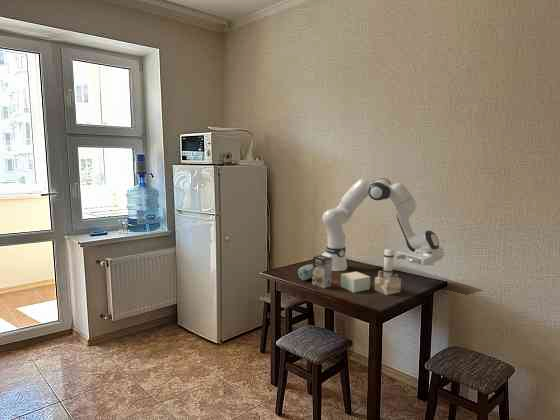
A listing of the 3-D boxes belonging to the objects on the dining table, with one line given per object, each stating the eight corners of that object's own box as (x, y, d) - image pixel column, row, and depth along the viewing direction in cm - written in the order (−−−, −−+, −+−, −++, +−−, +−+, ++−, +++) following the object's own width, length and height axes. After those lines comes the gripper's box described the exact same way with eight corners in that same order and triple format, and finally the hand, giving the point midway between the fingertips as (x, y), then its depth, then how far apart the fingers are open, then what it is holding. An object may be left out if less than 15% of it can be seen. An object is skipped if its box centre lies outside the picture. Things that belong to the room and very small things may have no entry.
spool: (306, 278, 217) (304, 260, 221) (295, 282, 223) (293, 265, 227) (323, 279, 225) (321, 262, 229) (312, 283, 232) (309, 267, 236)
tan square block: (374, 289, 208) (375, 271, 207) (387, 287, 213) (388, 269, 212) (386, 295, 200) (387, 276, 199) (400, 291, 205) (401, 273, 204)
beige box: (340, 286, 213) (340, 274, 212) (355, 283, 218) (356, 271, 218) (353, 292, 204) (354, 279, 203) (369, 289, 209) (370, 276, 208)
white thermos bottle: (380, 277, 207) (382, 250, 205) (387, 276, 209) (389, 248, 207) (387, 280, 202) (389, 251, 200) (394, 278, 205) (396, 250, 203)
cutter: (328, 284, 217) (328, 281, 216) (333, 282, 221) (333, 279, 221) (350, 289, 208) (350, 287, 207) (355, 287, 212) (355, 284, 212)
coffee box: (311, 284, 216) (312, 256, 214) (319, 282, 220) (320, 254, 218) (323, 288, 209) (324, 259, 207) (331, 286, 213) (332, 257, 211)
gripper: (407, 247, 226) (389, 249, 219) (436, 254, 208) (419, 257, 202) (406, 257, 227) (389, 260, 220) (436, 266, 209) (418, 269, 202)
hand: (403, 259), depth 211 cm, fingers open, 8 cm apart
